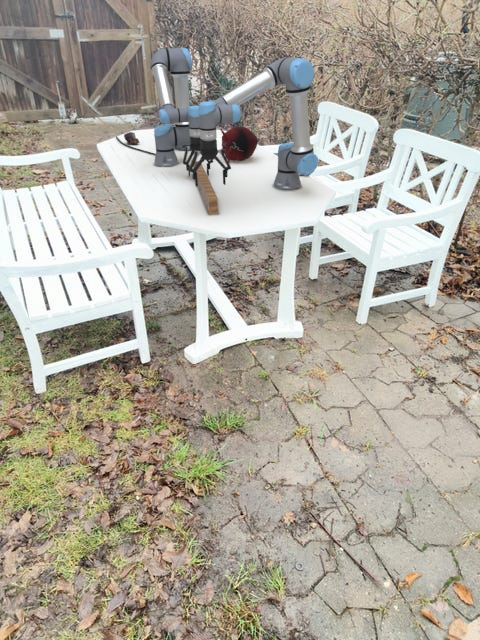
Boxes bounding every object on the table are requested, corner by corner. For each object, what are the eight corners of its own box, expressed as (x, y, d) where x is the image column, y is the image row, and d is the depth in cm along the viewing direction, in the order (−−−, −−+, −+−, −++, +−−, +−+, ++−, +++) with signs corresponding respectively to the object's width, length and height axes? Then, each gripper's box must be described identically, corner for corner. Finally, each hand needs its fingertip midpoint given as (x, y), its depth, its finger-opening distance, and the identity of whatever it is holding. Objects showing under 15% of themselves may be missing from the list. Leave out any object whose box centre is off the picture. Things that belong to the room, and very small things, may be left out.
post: (193, 175, 273) (192, 161, 268) (201, 175, 273) (200, 161, 269) (209, 214, 220) (208, 197, 215) (218, 214, 221) (217, 197, 216)
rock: (136, 143, 345) (123, 144, 341) (134, 131, 342) (121, 132, 338) (140, 143, 336) (127, 145, 332) (139, 131, 332) (125, 132, 328)
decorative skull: (218, 132, 305) (218, 129, 282) (252, 124, 304) (255, 121, 281) (225, 164, 312) (225, 164, 288) (258, 157, 311) (261, 156, 288)
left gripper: (176, 138, 249) (180, 178, 262) (217, 136, 253) (218, 176, 266) (175, 135, 256) (178, 174, 268) (215, 133, 259) (216, 172, 272)
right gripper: (182, 142, 201) (185, 189, 213) (236, 139, 205) (237, 185, 217) (180, 138, 207) (184, 184, 219) (233, 135, 211) (234, 180, 223)
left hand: (198, 175), depth 267 cm, fingers open, 10 cm apart
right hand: (210, 185), depth 218 cm, fingers open, 13 cm apart
